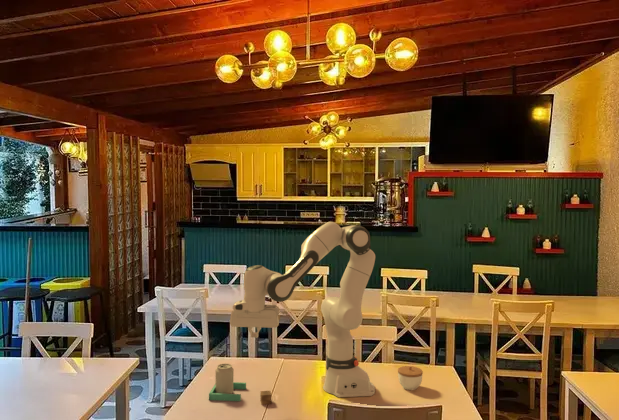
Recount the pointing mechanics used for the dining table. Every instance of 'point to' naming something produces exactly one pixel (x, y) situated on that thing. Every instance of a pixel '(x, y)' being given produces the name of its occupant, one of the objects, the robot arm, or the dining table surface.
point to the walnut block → (265, 397)
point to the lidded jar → (410, 377)
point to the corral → (227, 397)
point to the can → (224, 379)
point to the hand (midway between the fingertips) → (254, 337)
